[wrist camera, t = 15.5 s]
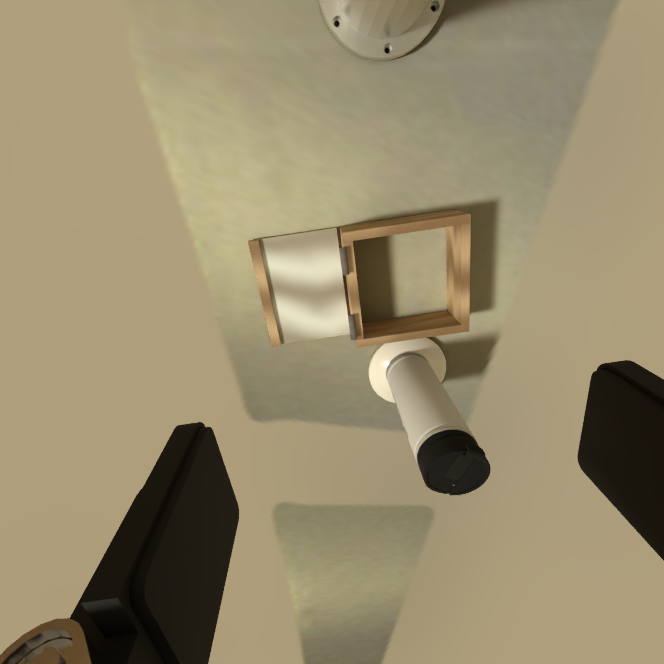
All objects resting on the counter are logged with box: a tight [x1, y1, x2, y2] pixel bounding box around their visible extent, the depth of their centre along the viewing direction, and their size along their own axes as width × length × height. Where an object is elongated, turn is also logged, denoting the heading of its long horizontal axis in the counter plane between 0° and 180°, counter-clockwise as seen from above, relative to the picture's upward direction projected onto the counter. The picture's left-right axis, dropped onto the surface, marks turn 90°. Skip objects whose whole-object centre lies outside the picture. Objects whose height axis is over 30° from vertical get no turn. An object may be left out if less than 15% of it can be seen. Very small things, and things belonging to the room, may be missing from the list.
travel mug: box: [386, 352, 490, 495], centre depth 43 cm, size 6×7×20 cm
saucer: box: [368, 337, 446, 403], centre depth 52 cm, size 11×11×1 cm
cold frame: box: [248, 209, 471, 348], centre depth 44 cm, size 14×25×6 cm, turn 98°
